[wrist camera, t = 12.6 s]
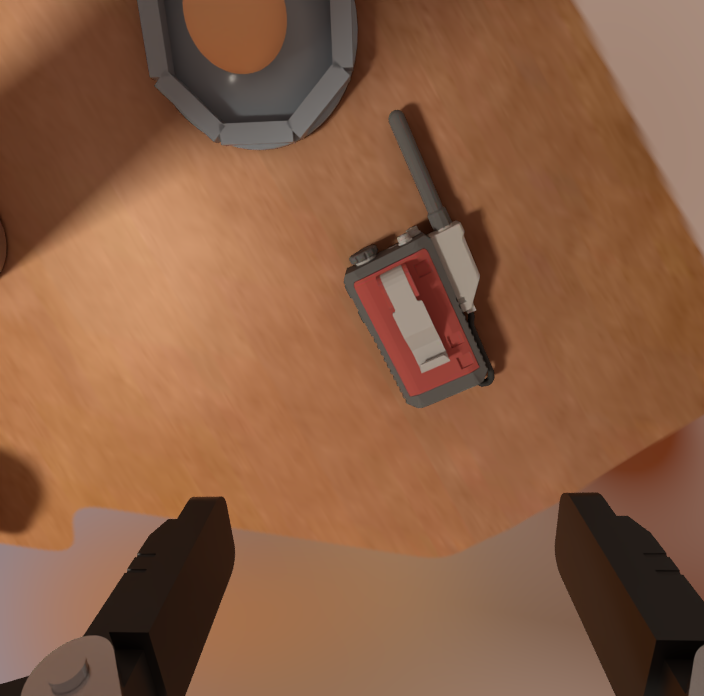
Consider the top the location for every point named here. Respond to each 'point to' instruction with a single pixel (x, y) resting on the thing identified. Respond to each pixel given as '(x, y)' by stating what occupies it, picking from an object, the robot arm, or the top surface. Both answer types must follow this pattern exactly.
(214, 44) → the ball
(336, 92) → the dish
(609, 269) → the top surface
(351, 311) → the top surface
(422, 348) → the walkie-talkie
